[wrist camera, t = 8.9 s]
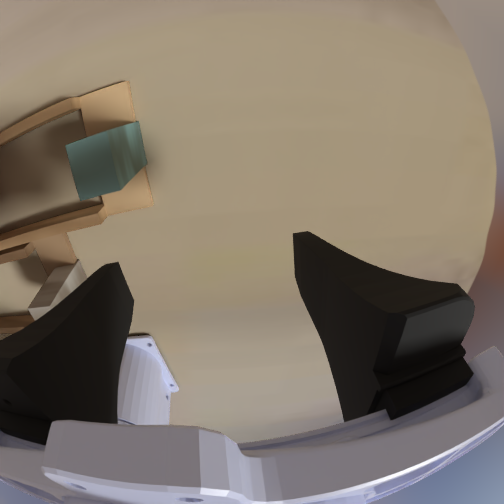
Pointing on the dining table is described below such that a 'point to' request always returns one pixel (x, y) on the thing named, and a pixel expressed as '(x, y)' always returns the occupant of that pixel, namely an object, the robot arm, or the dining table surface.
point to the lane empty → (59, 277)
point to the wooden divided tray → (93, 161)
